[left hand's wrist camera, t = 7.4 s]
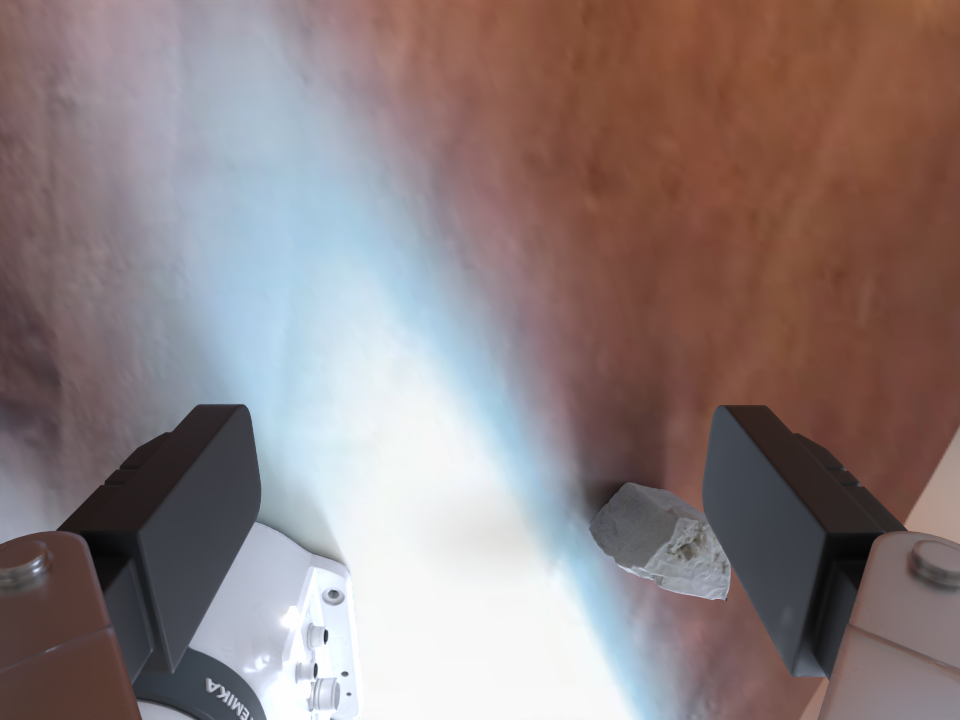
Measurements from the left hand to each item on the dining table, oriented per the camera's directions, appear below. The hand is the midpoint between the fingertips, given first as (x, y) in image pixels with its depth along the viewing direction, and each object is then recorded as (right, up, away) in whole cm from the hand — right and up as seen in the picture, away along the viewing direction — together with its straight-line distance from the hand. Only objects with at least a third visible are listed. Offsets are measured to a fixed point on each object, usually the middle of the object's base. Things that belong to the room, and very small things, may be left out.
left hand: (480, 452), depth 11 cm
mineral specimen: (+12, -9, +35) cm, 38 cm away
